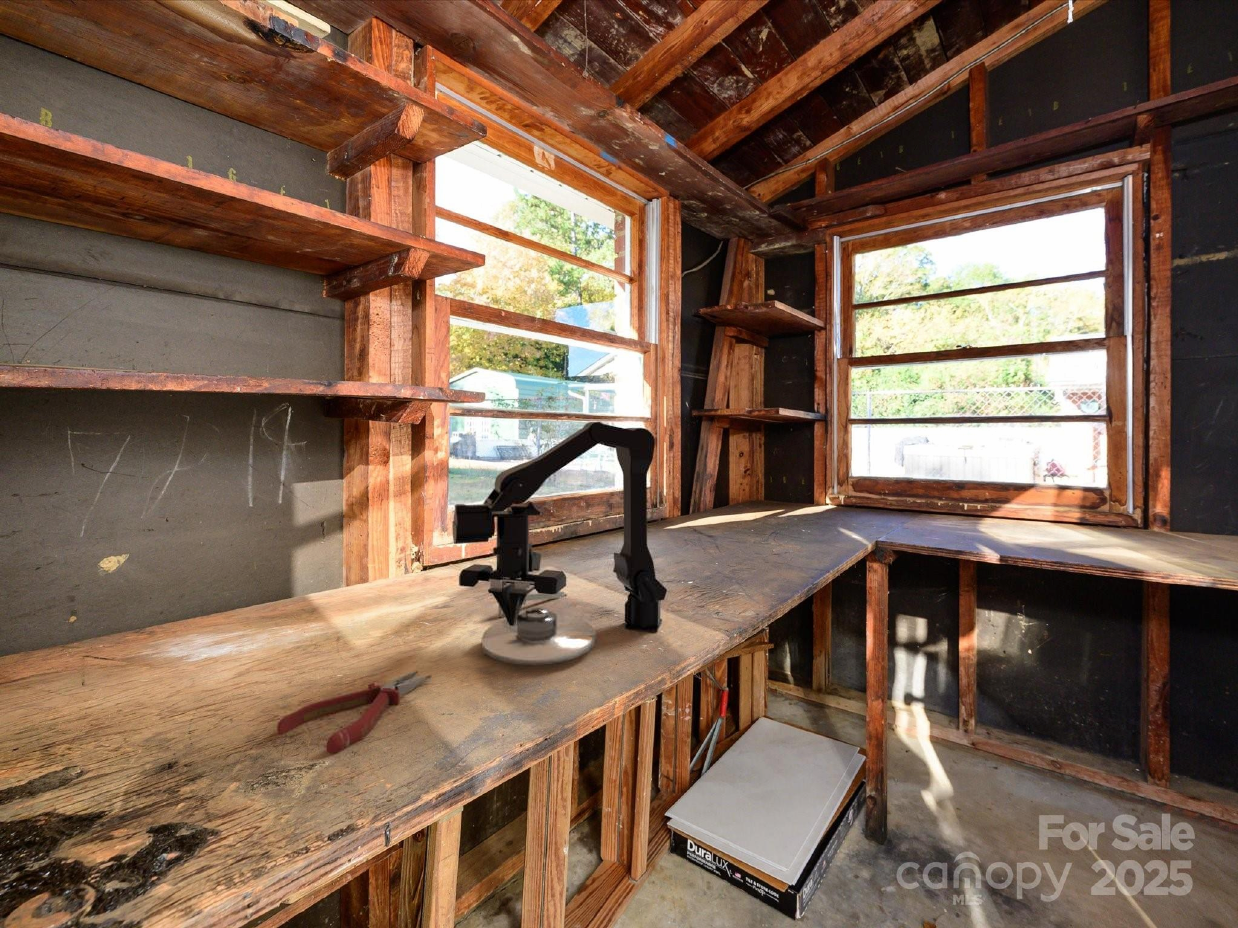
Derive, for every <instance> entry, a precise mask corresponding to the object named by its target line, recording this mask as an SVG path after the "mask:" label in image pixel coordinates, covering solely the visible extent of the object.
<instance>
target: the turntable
mask: <svg viewBox="0 0 1238 928" xmlns="http://www.w3.org/2000/svg"><path fill="white" fill-rule="evenodd" d="M556 615H557V634H556V635H555V636H554V637H552V638H550V639H546V640H540V641H529V640H524V639H521V638H519V637H518V635H517V621H516V624H515V625H514V626H510V625H509V623H508V621H507V619H505V620H501V621H499V622H497V623H495V624H493V625H491V626H490V627H488V628H487V629H486V630H485V631H484V632H483V634H482V635H481V636H482V637H481V640H482V641H481V644H482V645H481V647H482V650H483V652H484V653H485V654H486V655H487V656H489V657H490V658H492V659H494V660H497V661H501V662H503V663H508V664H514V665H524V666H525V665H527V666H537V665H550V664H557V663H558V664H559V663H562V662H566V661H570V660H573V659H576V658H578V657H580V656H582V655H585V654H586V653H588V652H589V651H591V650H592V648H593V647H594V646H595V643H596V630H595V628H594V627H593V625H591V624H590V623H589V622H587V621H585V620H583V619H580V618H577V617H573V616H568V615H561V614H556Z"/></svg>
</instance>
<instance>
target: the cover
mask: <svg viewBox="0 0 1238 928" xmlns="http://www.w3.org/2000/svg"><path fill="white" fill-rule="evenodd" d="M557 615H558V614H556V613H554V612H552V611H549V609H548V607H545V606H532V607H529V608H527V609H525V611H524V612H522V613H519V616H518V617H517V635H518V637H519V638H521V639H524V640H529V641H540V640H546V639H550V638H552V637H554V636H555V635H556V634H557Z"/></svg>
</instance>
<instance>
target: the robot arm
mask: <svg viewBox="0 0 1238 928" xmlns="http://www.w3.org/2000/svg"><path fill="white" fill-rule="evenodd" d="M655 439H656V438H655V436H654V434H653V433H652V432H651V431H650V430H649V429H647V428H645V427H626V428H624V427H620V426H616V425H615V426H614V425H610V424H605V423H603V422H601V421H590V422H587V423H585V424H584V426H583V427H581V428H580V429H578V430H577V431H576V432H573V433H572V434H570V435H569V436H567V437H566V438H565V439H564V440H563V439H562V441H560V442H559V443H557V444H555V445H554V446H553V447H551V448H549V449H548V450H546V451H545V452H543V453H542V454H540V455H539V456H537V457H535V458H533V459H531V460H528V461H525V462H523V463H519V464H517V465H515V466H512V467H510V468H507V469H506V470H505V469H504V470H503V471H501V472H500V473H498V474H497V476H496V477H495V480H494V488H493V489H492V491H491V492H490V494H489V495H487V497H486V499H485V500H484V502H483V503H481V504H464V503H456V504H455V505H454V514H453V521H452V525H451V526H452V538H453V539H452V541H453V543H454V545H459V544H476V543H488V542H489V539H492V538H493V537H494V536H495V533H496V546H495V547H493V549H492V551H493V553H492V554H493V555H496V569H495V570H494V568H493V567H492V565H490V564H479V563H478V564H477V563H474V564H472V565H469V566H468V567H465V568H464V569H462V570H461V571H460V573H459V575H458V585H459V586H460V587H469V588H474V587H476V586H477V585H478V584H479V581H481V582H489V588H488V590H487V591H488V592H487V593H489V594H492V596H493V597H494V599H495V601H496V602H497V604H498V606H499V605H500V607H501V609H502V611H503V613H504V617H505V620H507V621H508V623H509V625H510V626H514V625H515V624H516V621H517V617H518V616H519V615H520V614H521V613H520V612H521V609H522V608H523V607H522V606H523V605H524V604H523V602H524V600H525V598H526V596H527V594H529V593H532V592H533V591H534V590H535V591H536V593H543V594H557V593H558V592H559V591H562V590H563V589H565V587H567V576H566V574H565V572H564V571H563V570H554V569H544V570H543V571H541V572H540V573H538V574H533V572H534V571H536V572H539V571H540V567H541V560H542V554H541V553H538V552H536V551H533V544H532V543H531V542H530V516H540V515H541V510H539V509H537V507H536V506H535V505H534V503H533V502H532V501H531V500H529V499H531V497H532V496H533V495H534V494H535V493H537V491H539V489H540V488H541V487H542V486H543V484H544V483H545V482H546V481H547V480H548V479H549V478H550V477H551V476H552V475H555V474H556V473H557V472H558V471H560V470H561V469H562V468H565V467H566V466H568V465H569V464H570V463H571V462H573V461H575V460H576V459H578V458H579V457H580V456H582V455H583V454H585V453H586V452H588V451H590V450H591V449H592V448H594V447H596V446H597V445H602V446H605V447H608V448H613V449H615V452H616V458H617V461H618V464H619V466H620V469H621V472H622V477H623V478H622V482H623V483H622V486H623V487H622V489H623V490H622V493H623V495H622V496H623V497H622V498H623V501H622V503H623V513H622V514H623V515H622V516H623V545H622V546H621V549H620V552H613V561H614V566H613V569H612V572H613V573H614V574H616V578H617V580H618V581H619V583H621V584H622V585H623V588H624V590H625V592H628V593H629V594H627V600H626V601H625V603H624V623H625V625H624V629H625V630H634V631H642V632H643V631H644V632H653V633H655V632H656V633H657V632H658V631H659V630H660V627H661V624H663V623H662V622H663V619H662V618H661V611H662V610H661V603H662V601H664V600H665V598H666V595H667V592H668V590H667V588H666V587H665V586H664V584H662V583H661V582H660V580H658V579H657V578H656V577H657V576H656V569H655V563H654V559H653V557H652V554H651V552H650V549H649V547H648V488H647V487H648V481H647V480H648V471H649V469H650V467H651V465H652V463H653V460H654V453H655V448H656V447H655V446H656V440H655ZM525 502H526V503H525ZM522 504H523V505H522ZM495 518H496V520H495ZM495 523H496V524H495ZM495 531H496V532H495ZM531 573H532V574H531Z"/></svg>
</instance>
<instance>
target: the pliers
mask: <svg viewBox="0 0 1238 928" xmlns="http://www.w3.org/2000/svg"><path fill="white" fill-rule="evenodd" d="M418 674H419V671H418V670H415V671H412V672H410V673H408V674H406V675H403V676H400V677H398V678H395V679H392V680H390V681H388V682H387V683H386V684H384V685H383V686H380V685H376V684H375V683H374V682H372V683H369V684H368V686H367V687H368V688H366V689H363V690H359V691H355V692H351V693H346V694H344V695H340V696H336V697H332V698H327V699H324V700H320V701H317V702H315V703H314V702H313V703H311V704H308V705H305V706H303V707H301V708H299V709H297V710H295V711H293V712H291V713H290V714H288V715H285V716H284V717H282V718H281V719H280V720H279V721H278V724H277V727H276V728H277V731H276V732H277V734H278V735H279V736H284V735H285V734H288V733H289V732H291V731H293V730H294V729H296V728H298V727H300V726H302V725H304V724H306V723H308V722H312V721H314V720H316V719H319V718H323V717H326V716H329V715H334V714H337V713H340V712H345V711H349V710H353V709H357V708H361V707H364V706H367V705H369V706H368V708H367V709H366V711H365V712H364V713H363V714H362V716H360V717H359V718H358V719H356V721H354V722H353V723H352V724H349V725H347V726H345V727H343V728H342V729H341V728H340V729H339V730H338V731H336V732H334V733H333V734H331V735H330V737H329V738H328V739H327V741H326V752H327V753H328V754H331V755H335V754H337V753H340V752H342V751H344V750H345V749H347V748H350V747H351V746H352V745H354V744H356V743H358V742H359V741H362V740H363V739H364V738H365V737H367V736H368V735H369V734H370V733H371V732H372V730H373V729H374V727H375V726H376V725H377V723H378V722H379V720H380V719H381V717H382V716H383V715H384V713H385V712H386V710H387V709H388V707H389V706H399V705H400V697H402V696H404V695H406V694H408V693H409V692H411V691H412V690H414V689H415V688H417V687H418V686H420V685H421V684H423V683H425V682H427V680H429V679H431V678H432V674H428V675H424V676H419V677H418V676H417V675H418ZM416 676H417V677H416Z"/></svg>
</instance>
